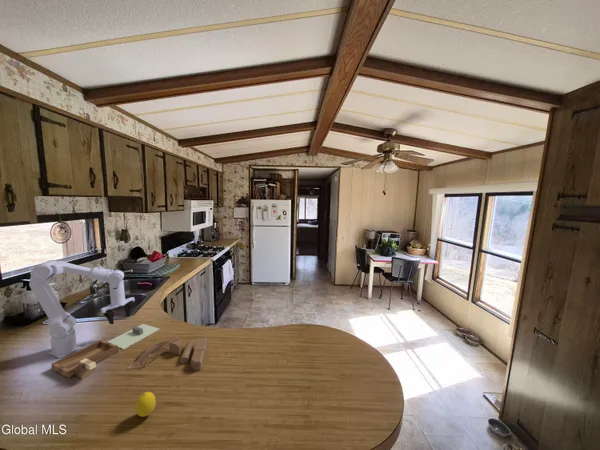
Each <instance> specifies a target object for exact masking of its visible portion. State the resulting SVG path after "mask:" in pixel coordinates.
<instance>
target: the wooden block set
mask: <svg viewBox="0 0 600 450" xmlns="http://www.w3.org/2000/svg"><path fill="white" fill-rule="evenodd" d="M194 344H195V346H194ZM169 346H170V349H169V352H171V353H173V354H175V355H177V356H181V357H180V360H179V362H180V364H183V365H185V364H187V363H188V361H189V359H190V363H191V366H190V367H191V369H193V370H194V371H201V370H202V367H203V363H204V359H205V357H206V354H207V349H208V338H207V337H201V338H197V340H196V343H194V342H193V340H188V341H187V342H186V344H185V347H184V348H183V340H176V342H169ZM193 347H194V349H193ZM192 350H193V353H192ZM181 351H182V352H181ZM191 353H192V356H191ZM190 356H191V358H190Z"/></svg>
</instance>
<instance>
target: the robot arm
mask: <svg viewBox="0 0 600 450" xmlns="http://www.w3.org/2000/svg"><path fill="white" fill-rule="evenodd" d="M64 273H69V274H75V275H80V276H81V275H82V276H87V277H88V278H89V279H90V280H96V281H101V282H106V283H108V284H109V295H110V296H109V297H110V303H109V304H108V305H106V306H104V307H102V308H100V313H101V314H103V315H104V316H105V318H106V319H107V321H108V323H109V324H110V325H114V324H115V321H114V315H115V314H114V313H115V311H113V310H114V309H116V308H119V307H124V312H125V317H127V318H129V317H131V312H132V309H133V307H134V305H135V303H134V302H135V301H136V300H135V297H134V296H132V297H128V298H126V293H125V283H124V277H125V274H124V273H125V272H123V270H120V269H115V270H114V268H113V269H107V268H104V267H103V266H98V267H97V266H95V267H93V268H89V267H86V266H81V265H78V264H74V263H70V262H67V261H64V260H58V259H57V260H56V259H50V260H47V261H45V262H44V263H42V264H38V265H36V266H35V267H34V268H33V269H31V271H30V272H29V274H30V279H29V283H28V285H29V287H30V289H31V291H32V293H33V295H34V296H35V298H36V299H37V301H38V304H39V305H40V306H41V308H42V310H43V311H44V313H45V314H46V316H47V319H49V320H48V326H47V327H48V328H49V335H50V336H51V338H50V347H51V351H49V354H50V355H52V356H54V357H55V358H58V359H62V358H64V357H67V356H69V355H71V354H73V353H75V352H77V351H79V350H81V349H82V346H79V345H78V344H77V338H76V330H75V328H74V326H75V325H76V324H77V319H76V318H75V317H74V316H72V315H71V314H70V312H68V311H65V310H64V308H63V306H62V304H61V303H60V301H59V299H58V297H57V296H56V294H55V292H54V290H53V288H52V287H51V285H50V284H49V282H50V281H51V280H52V278H53V277H54V276H57V275H61V274H64Z"/></svg>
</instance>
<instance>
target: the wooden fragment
mask: <svg viewBox="0 0 600 450" xmlns="http://www.w3.org/2000/svg"><path fill="white" fill-rule="evenodd" d="M178 338H179V335H176V336H173V337H171V338H169V339H166V340H164V341H162V342H160V343H157V344H154V345H153V346H150V347H149V348H146V349H144V350H143V351H142V352H140V354H138V356H137V357H136V358H135V359H134V360H133V361H132V362H131V364H130V365H128V367H127V368H126V370H127V369H134V370H136V369H135V368H138V369H143V368H146V367H147V366H149V364H150V363H151V362H152V361H154V360H155V359H157V358H158V357H160V356H161V355H164V354H165V353H167V352H169V351H170V346H169V342H176V341H178V340H177V339H178ZM138 362H139V363H140V364H135V363H138ZM142 367H143V368H142Z"/></svg>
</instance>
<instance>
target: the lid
mask: <svg viewBox="0 0 600 450" xmlns="http://www.w3.org/2000/svg"><path fill="white" fill-rule="evenodd" d="M159 330H160V328H158V327H155V326H153V325H152V326H151V325H148V324H145V323H142V324H140V325H138V326H133V327H132V329H130V330H128V331H125V332H124V333H122V334H120V335H118V336H115V337H114V338H112V339H110V340H108V341H107V342H109V343H112V344H114V345H117V346H118V349H120V348H121V350H125V349H127V348H129V347H130V345H131V346H133V345H134V344H136V343H137V342H139V341H141V340H143V339H145V338H146V337H148V336H150V335H152V334H154V333H155V332H158V331H159Z"/></svg>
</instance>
